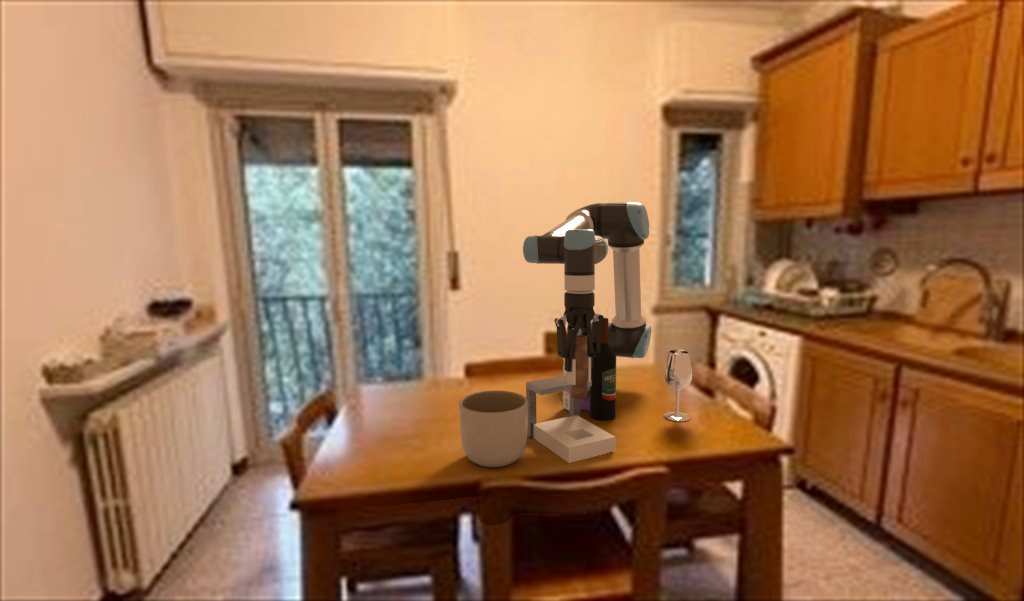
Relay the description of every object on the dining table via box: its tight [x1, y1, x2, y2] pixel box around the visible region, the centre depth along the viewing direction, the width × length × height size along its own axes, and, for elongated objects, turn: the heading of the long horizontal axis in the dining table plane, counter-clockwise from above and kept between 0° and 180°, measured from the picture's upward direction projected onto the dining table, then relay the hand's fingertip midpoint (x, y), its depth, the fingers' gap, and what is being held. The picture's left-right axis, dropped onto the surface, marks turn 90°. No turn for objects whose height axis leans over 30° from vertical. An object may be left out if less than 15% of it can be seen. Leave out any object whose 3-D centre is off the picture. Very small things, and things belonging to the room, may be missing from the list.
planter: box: [458, 390, 528, 468], centre depth 140 cm, size 17×17×15 cm
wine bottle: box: [589, 317, 617, 422], centre depth 167 cm, size 8×8×30 cm
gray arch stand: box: [525, 375, 592, 440], centre depth 155 cm, size 16×8×16 cm, turn 117°
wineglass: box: [663, 349, 693, 422], centre depth 167 cm, size 8×8×20 cm
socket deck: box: [532, 415, 616, 464], centre depth 149 cm, size 14×18×4 cm
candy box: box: [562, 357, 590, 413], centre depth 176 cm, size 14×6×16 cm, turn 114°
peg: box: [571, 334, 587, 399], centre depth 143 cm, size 4×4×16 cm
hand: (579, 382), depth 144 cm, fingers closed on peg, 4 cm apart
